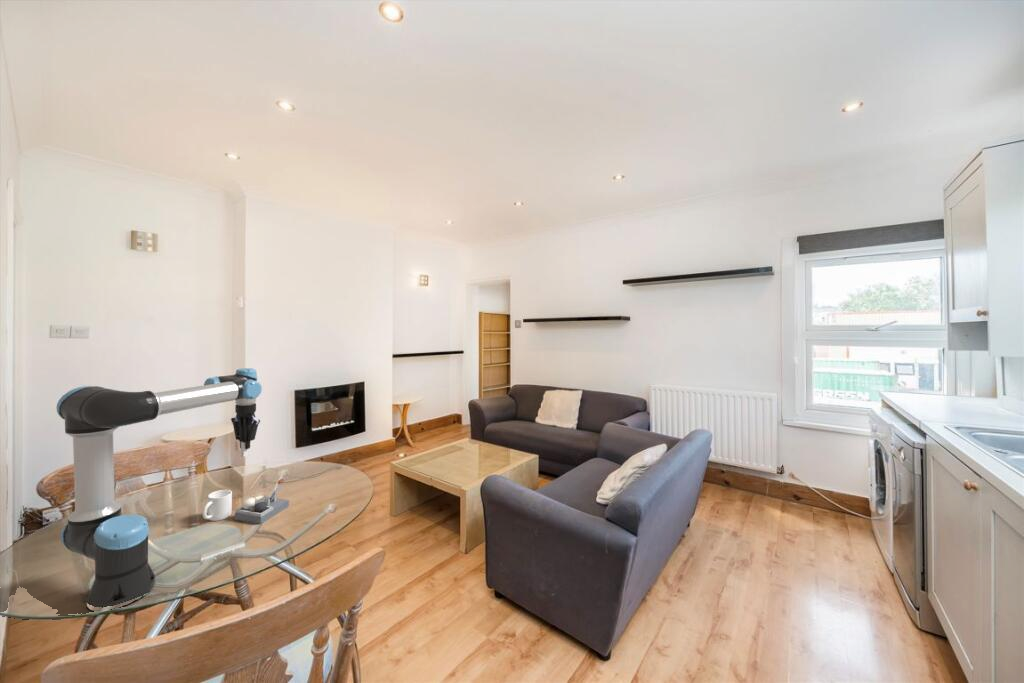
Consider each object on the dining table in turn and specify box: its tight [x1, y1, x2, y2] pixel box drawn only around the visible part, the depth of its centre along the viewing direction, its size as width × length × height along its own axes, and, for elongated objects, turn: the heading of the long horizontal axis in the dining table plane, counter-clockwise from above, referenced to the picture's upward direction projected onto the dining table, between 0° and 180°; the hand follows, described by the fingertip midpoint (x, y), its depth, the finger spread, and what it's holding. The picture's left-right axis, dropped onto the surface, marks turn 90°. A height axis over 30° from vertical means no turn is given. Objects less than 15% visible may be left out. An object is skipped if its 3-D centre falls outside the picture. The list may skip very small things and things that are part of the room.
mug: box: [201, 489, 233, 522], centre depth 163 cm, size 12×8×10 cm
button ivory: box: [242, 497, 256, 509], centre depth 166 cm, size 4×4×3 cm
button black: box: [255, 502, 267, 513], centre depth 165 cm, size 4×4×3 cm
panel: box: [234, 494, 290, 525], centre depth 170 cm, size 16×13×6 cm
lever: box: [269, 478, 285, 502], centre depth 173 cm, size 2×1×13 cm
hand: (244, 455), depth 168 cm, fingers closed
